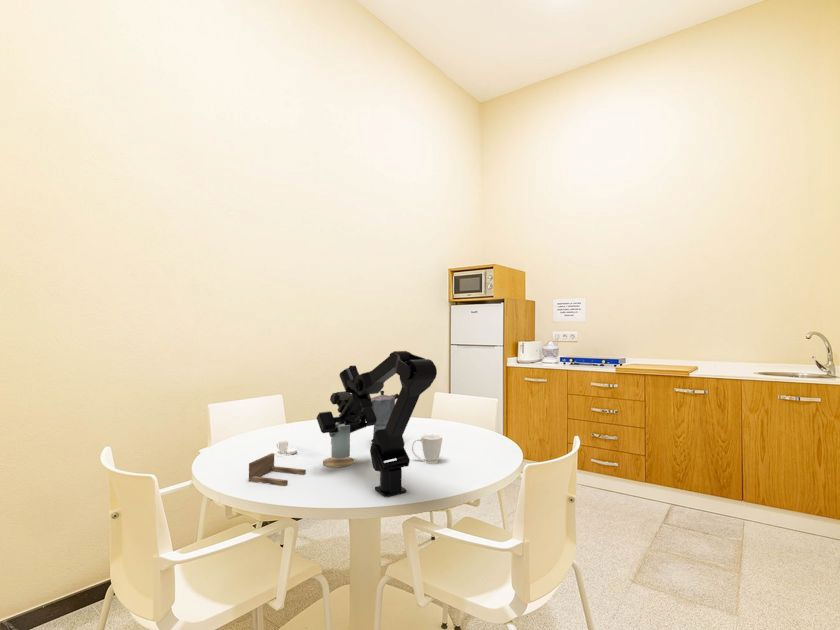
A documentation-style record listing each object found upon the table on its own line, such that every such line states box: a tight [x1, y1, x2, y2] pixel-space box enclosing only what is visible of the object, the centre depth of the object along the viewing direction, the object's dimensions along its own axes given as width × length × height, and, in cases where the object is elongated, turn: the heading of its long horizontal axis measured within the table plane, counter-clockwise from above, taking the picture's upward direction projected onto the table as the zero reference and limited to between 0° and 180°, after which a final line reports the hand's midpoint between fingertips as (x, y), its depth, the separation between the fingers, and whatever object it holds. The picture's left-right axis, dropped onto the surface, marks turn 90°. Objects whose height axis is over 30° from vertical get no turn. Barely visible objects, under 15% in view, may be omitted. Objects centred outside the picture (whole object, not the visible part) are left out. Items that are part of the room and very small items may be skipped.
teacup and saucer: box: [271, 440, 299, 457], centre depth 146 cm, size 9×8×4 cm
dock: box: [248, 452, 307, 487], centre depth 122 cm, size 12×10×5 cm
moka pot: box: [371, 390, 399, 439], centre depth 159 cm, size 10×15×20 cm, turn 135°
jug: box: [330, 424, 351, 459], centre depth 136 cm, size 9×6×10 cm, turn 38°
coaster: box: [322, 456, 355, 468], centre depth 136 cm, size 10×10×1 cm
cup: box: [411, 433, 443, 464], centre depth 137 cm, size 7×10×8 cm
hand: (338, 434), depth 136 cm, fingers closed on jug, 6 cm apart
